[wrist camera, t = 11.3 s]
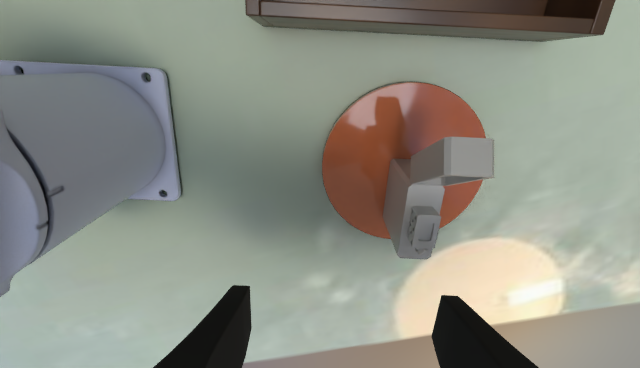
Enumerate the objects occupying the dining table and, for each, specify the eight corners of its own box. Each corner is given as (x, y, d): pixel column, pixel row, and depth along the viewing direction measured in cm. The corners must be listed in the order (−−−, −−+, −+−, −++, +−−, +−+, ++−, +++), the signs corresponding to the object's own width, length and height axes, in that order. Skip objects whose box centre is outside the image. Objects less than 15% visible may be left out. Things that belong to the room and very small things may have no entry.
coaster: (318, 231, 21) (318, 235, 20) (326, 77, 17) (326, 77, 17) (463, 238, 21) (467, 243, 21) (501, 86, 17) (507, 86, 17)
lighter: (408, 220, 20) (459, 313, 12) (382, 219, 20) (417, 311, 12) (427, 109, 17) (506, 143, 10) (397, 108, 17) (452, 140, 10)
